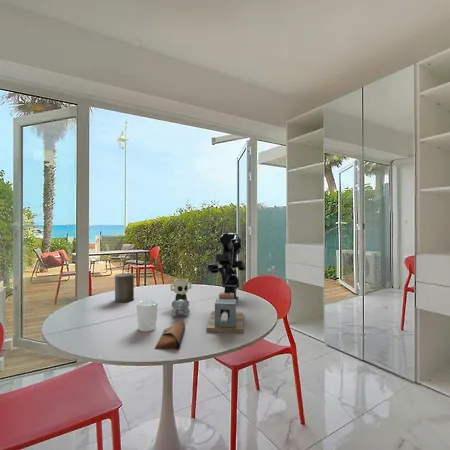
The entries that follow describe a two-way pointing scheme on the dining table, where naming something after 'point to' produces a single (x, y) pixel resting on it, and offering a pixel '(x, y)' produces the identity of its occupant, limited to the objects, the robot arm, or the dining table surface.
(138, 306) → the white cup
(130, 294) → the pillar candle
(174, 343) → the sunglasses case
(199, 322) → the dining table surface
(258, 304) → the dining table surface
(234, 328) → the bearing base
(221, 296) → the shaft
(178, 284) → the character mug
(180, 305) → the elephant statuette
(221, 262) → the robot arm
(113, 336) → the dining table surface
